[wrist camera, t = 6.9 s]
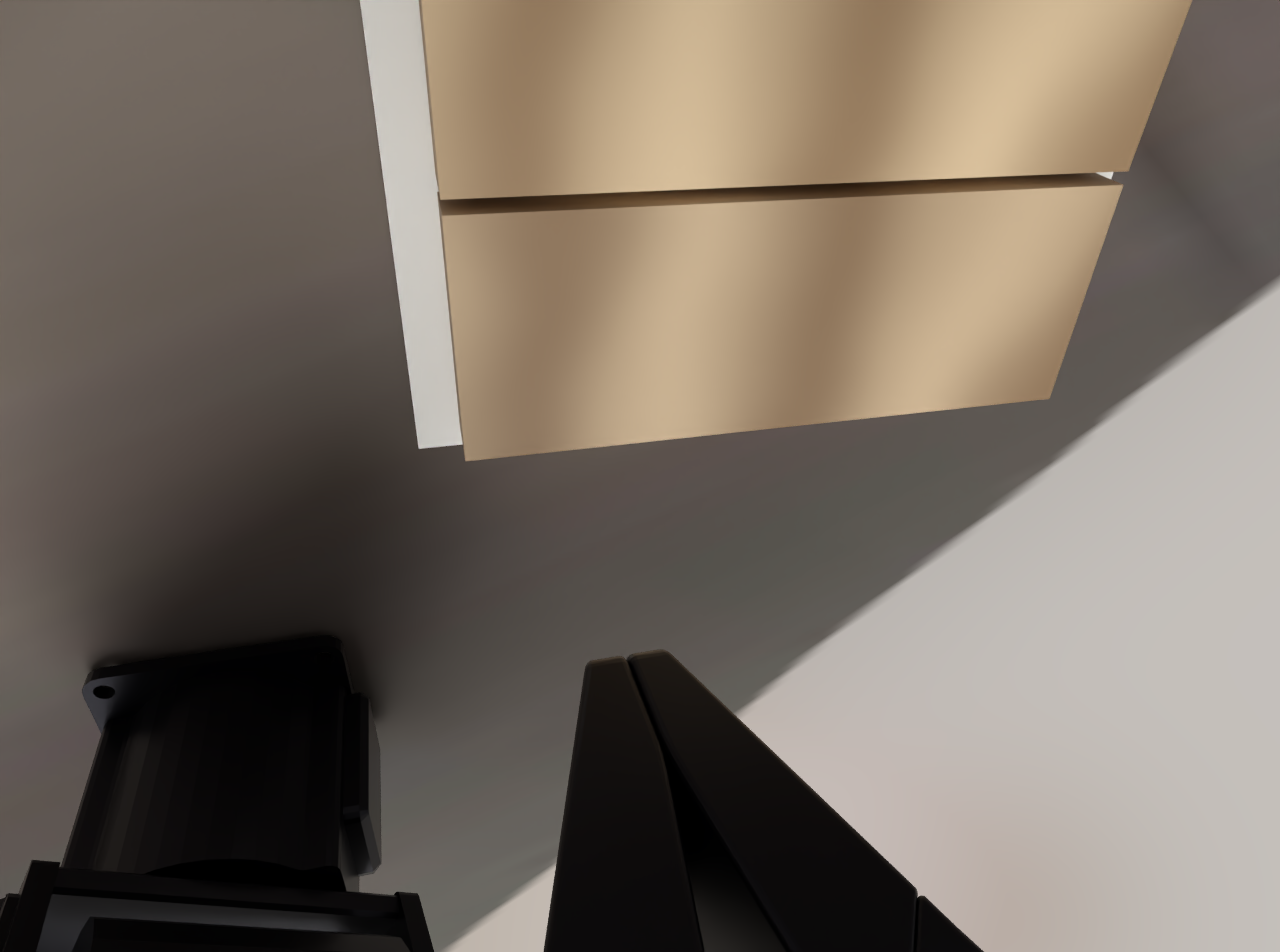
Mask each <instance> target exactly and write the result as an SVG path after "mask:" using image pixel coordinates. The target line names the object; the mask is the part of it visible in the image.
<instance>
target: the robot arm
mask: <svg viewBox="0 0 1280 952" xmlns="http://www.w3.org/2000/svg"><path fill="white" fill-rule="evenodd" d="M322 652H328V653H330V654H328V655H321V654H319V653H322ZM101 685H107V686H110V687H103V686H101ZM82 693H83V697H84V699H85V701H86V703H87V705H88V707H89V709H90V711H91V713H92V715H93V717H94V719H95V721H96V723H97V725H98V728H99V730H100V732H101V738H100V741H99V744H98V747H97V751H96V754H95V757H94V760H93V764H92V767H91V770H90V774H89V777H88V780H87V783H86V787H85V790H84V793H83V796H82V800H81V803H80V806H79V809H78V813H77V816H76V819H75V822H74V826H73V829H72V832H71V836H70V839H69V842H68V845H67V849H66V852H65V855H64V858H63V862H62V865H61V867H59V866H60V862H51V861H39V860H32V861H31V863H30V866H29V868H28V871H27V873H26V876H25V878H24V881H23V883H22V886H21V888H20V890H19V893H18V894H10V893H8V894H6V897H5V898H3V899H0V952H434V950H433V946H432V942H431V939H430V935H429V931H428V928H427V924H426V920H425V917H424V913H423V909H422V906H421V902H420V898H419V895H418V894H417V893H406V892H396V893H395V894H394V895H385V894H373V893H361V892H359V876H364V875H369V874H373V873H375V871H376V870H377V869H378V867H379V866H380V865H381V784H380V747H379V743H378V738H377V733H376V728H375V724H374V719H373V714H372V709H371V705H370V700H369V698H368V697H367V696H366V695H364V694H363V693H362V692H359V693H354V690H353V686H352V681H351V677H350V672H349V668H348V663H347V659H346V655H345V650H344V646H343V644H342V642H341V641H340V640H339V639H337V638H336V637H333V636H316V637H309V638H302V639H295V640H288V641H281V642H274V643H268V644H261V645H254V646H247V647H240V648H233V649H226V650H220V651H213V652H206V653H199V654H192V655H185V656H178V657H172V658H165V659H158V660H151V661H144V662H137V663H130V664H124V665H117V666H110V667H103V668H99V669H95V670H93V671H92V672H90V673H89V674H88V676H87V678H86V680H85V683H84V686H83V689H82ZM917 896H918V893H917V889H916V888H915V887H914V886H913V885H912V884H911V883H910V882H909V881H908V880H907V879H906V878H905V877H904V876H903V875H902V874H901V873H900V872H898V871H897V870H896V869H895V868H894V867H893V866H892V865H891V864H890V863H889V862H888V861H887V860H886V859H885V858H884V857H883V856H882V855H881V854H880V853H878V851H877V850H875V849H874V848H873V847H872V846H871V845H870V844H869V843H868V842H867V841H866V840H865V839H864V838H863V837H862V836H861V835H860V834H859V833H858V832H856V830H855V829H853V828H852V827H851V826H850V825H849V824H848V823H847V822H846V821H845V820H844V819H843V818H842V817H841V816H840V815H839V814H838V813H837V812H836V811H835V810H834V809H833V808H831V807H830V806H829V805H828V804H827V803H826V802H825V801H824V800H823V799H822V798H821V797H820V796H819V795H818V794H817V793H816V792H815V791H814V790H813V789H812V788H811V787H810V786H809V785H807V784H806V783H805V782H804V781H803V780H802V779H801V778H800V777H799V776H798V775H797V774H796V773H795V772H794V771H793V770H792V769H791V768H790V767H789V766H788V765H787V764H785V763H784V762H783V761H782V760H781V759H780V758H779V757H778V756H777V755H776V754H775V753H774V752H773V751H772V750H771V749H770V748H769V747H768V746H767V745H766V744H765V743H764V742H763V741H761V740H760V739H759V738H758V737H757V736H756V735H755V734H754V733H753V732H752V731H751V730H750V729H749V728H748V727H747V726H746V725H745V724H743V722H742V721H741V720H740V719H739V718H737V717H736V716H735V715H734V714H733V713H732V712H731V711H730V710H729V709H728V708H727V707H726V706H725V705H724V704H723V703H722V702H721V701H720V700H719V699H718V698H717V697H716V696H714V695H713V694H712V693H711V692H710V691H709V690H708V689H707V688H706V687H705V686H704V685H703V684H702V683H701V682H700V681H699V680H698V679H697V678H696V677H695V676H694V675H693V674H691V673H690V672H689V671H688V670H687V669H686V668H685V667H684V666H683V665H682V664H681V663H680V662H679V661H678V660H677V659H676V658H675V657H674V656H673V655H672V654H670V653H669V652H668V651H665V650H653V651H647V652H641V653H634V654H631V655H630V656H629V657H628V658H627V660H626V659H625V658H624V657H622V656H616V657H610V658H604V659H598V660H592V661H589V662H588V663H587V665H586V667H585V672H584V679H583V686H582V693H581V699H580V706H579V713H578V720H577V727H576V734H575V740H574V747H573V754H572V761H571V768H570V775H569V781H568V788H567V795H566V802H565V809H564V816H563V823H562V829H561V836H560V843H559V850H558V857H557V864H556V870H555V877H554V885H553V891H552V898H551V905H550V911H549V918H548V925H547V932H546V939H545V946H544V952H984V951H983V950H981V949H980V948H979V947H978V946H977V945H976V944H975V943H974V942H973V941H972V940H970V939H969V938H968V937H967V936H966V935H965V934H964V933H963V932H962V931H961V930H960V929H958V928H957V927H956V926H955V925H954V924H953V923H952V922H951V921H950V920H949V919H948V918H947V917H946V916H945V915H944V914H943V913H942V912H940V911H939V909H937V908H936V907H935V906H934V905H933V904H932V903H931V902H930V901H929V900H928V899H927V898H926V897H925V896H919V897H918V898H917Z"/></svg>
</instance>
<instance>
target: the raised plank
mask: <svg viewBox="0 0 1280 952" xmlns="http://www.w3.org/2000/svg"><path fill="white" fill-rule="evenodd" d="M1191 2H1192V0H419V9H420V20H421V30H422V41H423V51H424V61H425V72H426V82H427V93H428V103H429V113H430V124H431V134H432V145H433V155H434V165H435V175H436V180H437V185H438V190H439V195H440V200H447V199H471V198H495V197H519V196H543V195H567V194H591V193H616V192H640V191H664V190H688V189H712V188H736V187H760V186H784V185H808V184H832V183H856V182H881V181H905V180H929V179H953V178H977V177H1001V176H1025V175H1049V174H1073V173H1097V172H1121V171H1128V170H1129V168H1130V165H1131V162H1132V160H1133V157H1134V154H1135V152H1136V149H1137V146H1138V144H1139V141H1140V138H1141V136H1142V133H1143V130H1144V128H1145V125H1146V122H1147V120H1148V117H1149V114H1150V112H1151V109H1152V106H1153V104H1154V101H1155V98H1156V96H1157V93H1158V90H1159V88H1160V85H1161V82H1162V80H1163V77H1164V74H1165V72H1166V69H1167V66H1168V64H1169V61H1170V58H1171V56H1172V53H1173V50H1174V48H1175V45H1176V42H1177V40H1178V37H1179V34H1180V32H1181V29H1182V26H1183V24H1184V21H1185V18H1186V16H1187V13H1188V10H1189V7H1190V5H1191Z"/></svg>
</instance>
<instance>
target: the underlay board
mask: <svg viewBox="0 0 1280 952" xmlns="http://www.w3.org/2000/svg"><path fill="white" fill-rule="evenodd" d="M360 4H361V12H362V19H363V27H364V35H365V42H366V50H367V58H368V65H369V73H370V81H371V88H372V96H373V103H374V111H375V119H376V126H377V134H378V142H379V149H380V157H381V165H382V172H383V180H384V187H385V195H386V203H387V210H388V218H389V226H390V233H391V241H392V249H393V256H394V264H395V271H396V279H397V287H398V294H399V302H400V310H401V317H402V325H403V333H404V340H405V348H406V356H407V363H408V371H409V378H410V386H411V394H412V401H413V409H414V417H415V424H416V432H417V440H418V447H419V449H423V448H432V447H442V446H452V445H461V444H463V443H462V437H461V431H460V423H459V413H458V402H457V392H456V382H455V371H454V361H453V351H452V340H451V330H450V320H449V310H448V299H447V289H446V279H445V268H444V258H443V248H442V238H441V227H440V217H439V207H438V196H437V192H439V190H438V185H437V180H436V175H435V165H434V155H433V145H432V134H431V124H430V113H429V103H428V93H427V82H426V72H425V61H424V51H423V41H422V30H421V20H420V9H419V0H360ZM1097 174H1099V175H1102V176H1104V177H1106V178H1109V179H1111V178H1112V175H1113V172H1097Z"/></svg>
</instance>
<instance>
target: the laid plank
mask: <svg viewBox="0 0 1280 952" xmlns="http://www.w3.org/2000/svg"><path fill="white" fill-rule="evenodd" d="M1122 188H1123V184H1120V183H1118V182H1116V181H1113V180H1111V179H1109V178H1106V177H1104V176H1102V175H1099V174H1097V173H1073V174H1049V175H1025V176H1001V177H977V178H953V179H929V180H905V181H881V182H856V183H832V184H808V185H784V186H760V187H736V188H712V189H688V190H664V191H640V192H616V193H591V194H567V195H543V196H519V197H495V198H471V199H447V200H440V195H439V192H437V196H438V207H439V217H440V227H441V238H442V248H443V258H444V268H445V279H446V289H447V299H448V310H449V320H450V330H451V340H452V351H453V361H454V371H455V382H456V392H457V402H458V413H459V423H460V431H461V437H462V443H463V449H464V456H465V461H473V460H483V459H492V458H501V457H511V456H520V455H529V454H539V453H548V452H557V451H567V450H576V449H585V448H595V447H604V446H613V445H622V444H632V443H641V442H650V441H660V440H669V439H678V438H688V437H697V436H706V435H716V434H725V433H734V432H744V431H753V430H762V429H771V428H781V427H790V426H799V425H809V424H818V423H827V422H837V421H846V420H855V419H865V418H874V417H883V416H893V415H902V414H911V413H921V412H930V411H939V410H948V409H958V408H967V407H976V406H986V405H995V404H1004V403H1014V402H1023V401H1032V400H1042V399H1049V398H1050V395H1051V393H1052V390H1053V387H1054V384H1055V381H1056V378H1057V375H1058V372H1059V369H1060V367H1061V364H1062V361H1063V358H1064V355H1065V352H1066V349H1067V346H1068V343H1069V341H1070V338H1071V335H1072V332H1073V329H1074V326H1075V323H1076V320H1077V318H1078V315H1079V312H1080V309H1081V306H1082V303H1083V300H1084V297H1085V294H1086V292H1087V289H1088V286H1089V283H1090V280H1091V277H1092V274H1093V271H1094V268H1095V266H1096V263H1097V260H1098V257H1099V254H1100V251H1101V248H1102V245H1103V243H1104V240H1105V237H1106V234H1107V231H1108V228H1109V225H1110V222H1111V219H1112V217H1113V214H1114V211H1115V208H1116V205H1117V202H1118V199H1119V196H1120V193H1121V191H1122Z"/></svg>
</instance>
